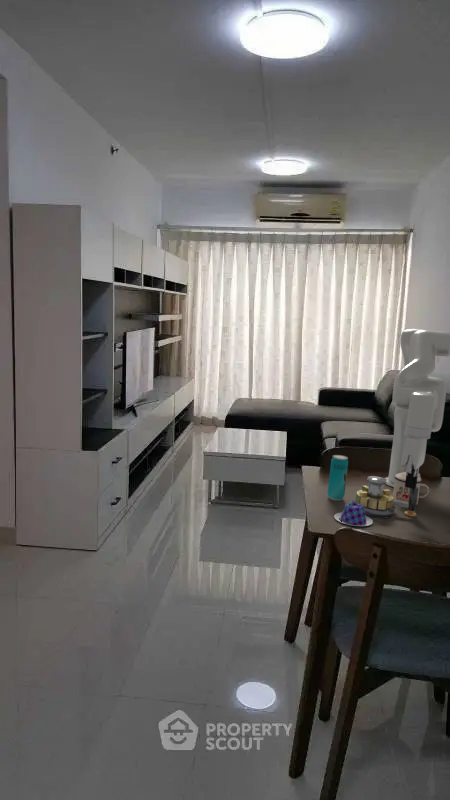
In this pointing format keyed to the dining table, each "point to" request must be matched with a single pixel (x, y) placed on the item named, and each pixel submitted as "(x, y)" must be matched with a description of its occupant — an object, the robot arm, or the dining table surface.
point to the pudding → (353, 515)
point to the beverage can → (337, 477)
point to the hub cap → (375, 492)
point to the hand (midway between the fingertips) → (410, 487)
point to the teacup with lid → (403, 492)
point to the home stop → (410, 513)
